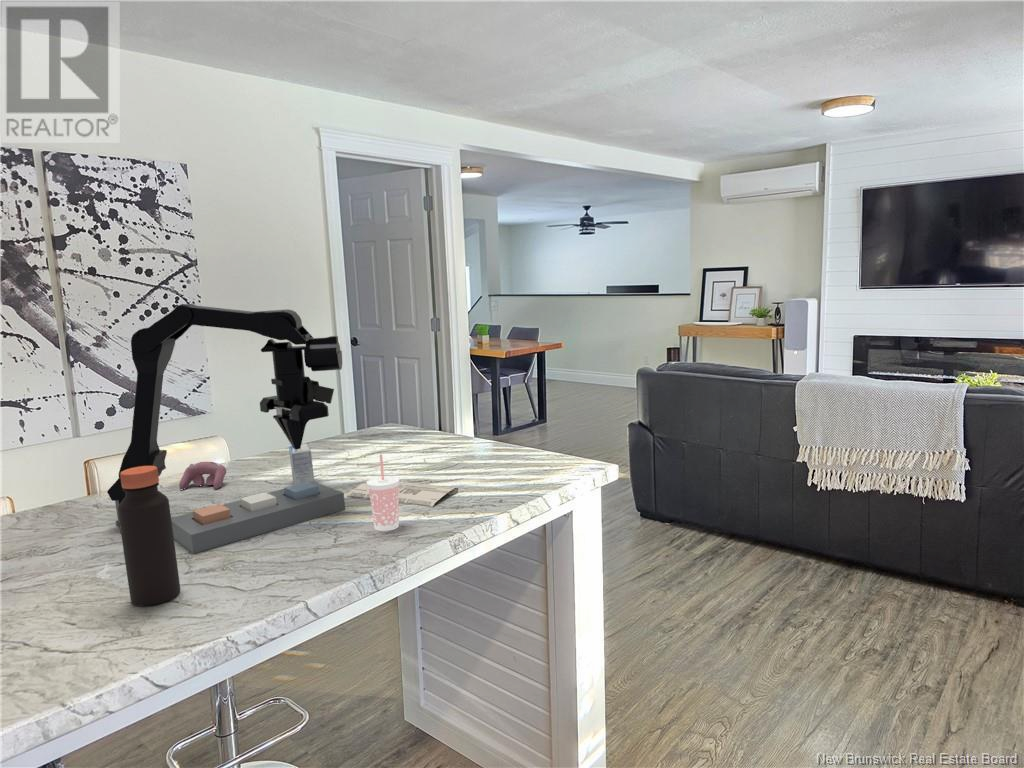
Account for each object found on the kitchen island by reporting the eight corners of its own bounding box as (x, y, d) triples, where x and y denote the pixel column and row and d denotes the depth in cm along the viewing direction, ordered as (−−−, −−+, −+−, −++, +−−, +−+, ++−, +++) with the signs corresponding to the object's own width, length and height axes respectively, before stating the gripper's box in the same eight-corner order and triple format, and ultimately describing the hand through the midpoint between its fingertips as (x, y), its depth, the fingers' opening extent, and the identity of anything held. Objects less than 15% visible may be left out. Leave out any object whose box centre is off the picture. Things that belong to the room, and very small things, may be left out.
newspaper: (462, 492, 152) (461, 481, 151) (434, 515, 141) (432, 504, 141) (377, 482, 162) (375, 472, 161) (344, 504, 151) (342, 493, 150)
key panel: (193, 553, 122) (191, 535, 122) (169, 536, 132) (167, 518, 131) (345, 509, 142) (343, 492, 142) (315, 496, 152) (313, 481, 151)
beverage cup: (367, 524, 133) (361, 453, 130) (399, 518, 135) (394, 448, 133) (373, 534, 127) (366, 460, 125) (406, 529, 129) (400, 456, 127)
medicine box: (315, 486, 159) (311, 450, 158) (294, 489, 158) (291, 452, 156) (311, 478, 166) (308, 443, 165) (292, 481, 165) (288, 445, 163)
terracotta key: (204, 532, 127) (202, 516, 127) (194, 525, 131) (192, 510, 130) (231, 524, 130) (229, 509, 130) (221, 518, 134) (219, 503, 134)
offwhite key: (252, 518, 133) (250, 503, 133) (242, 513, 137) (240, 498, 136) (277, 511, 136) (275, 497, 136) (266, 506, 140) (265, 492, 140)
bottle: (125, 598, 106) (106, 471, 103) (171, 583, 110) (155, 461, 107) (139, 612, 101) (120, 479, 98) (187, 595, 105) (170, 468, 102)
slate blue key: (296, 506, 139) (295, 492, 139) (285, 501, 143) (284, 487, 142) (319, 500, 142) (317, 486, 142) (307, 495, 146) (306, 481, 146)
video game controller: (226, 491, 164) (230, 462, 166) (216, 488, 160) (220, 458, 162) (187, 492, 165) (191, 463, 167) (176, 489, 161) (180, 459, 163)
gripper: (349, 370, 137) (355, 447, 139) (305, 365, 151) (312, 435, 153) (296, 378, 130) (304, 459, 132) (255, 371, 143) (263, 445, 146)
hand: (297, 448), depth 141 cm, fingers closed
